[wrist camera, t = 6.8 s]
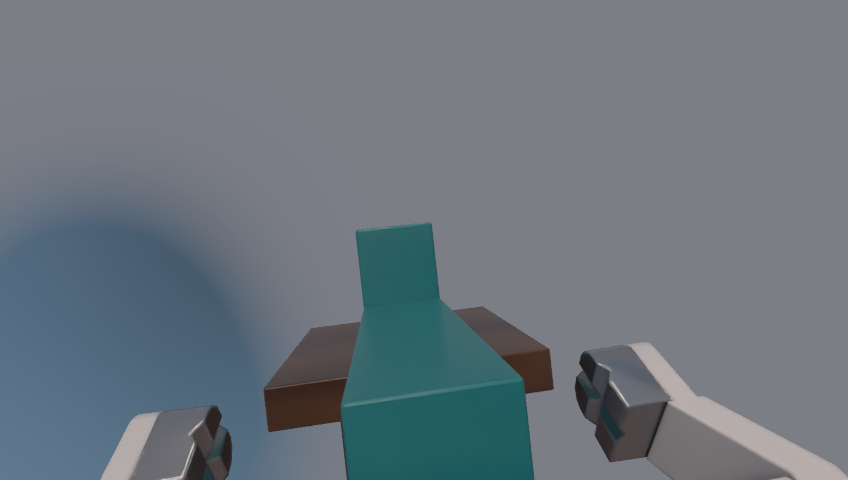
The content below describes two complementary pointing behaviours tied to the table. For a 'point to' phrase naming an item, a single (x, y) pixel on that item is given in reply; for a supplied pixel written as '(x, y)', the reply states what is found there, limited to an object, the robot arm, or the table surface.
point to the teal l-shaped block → (425, 377)
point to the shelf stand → (332, 354)
